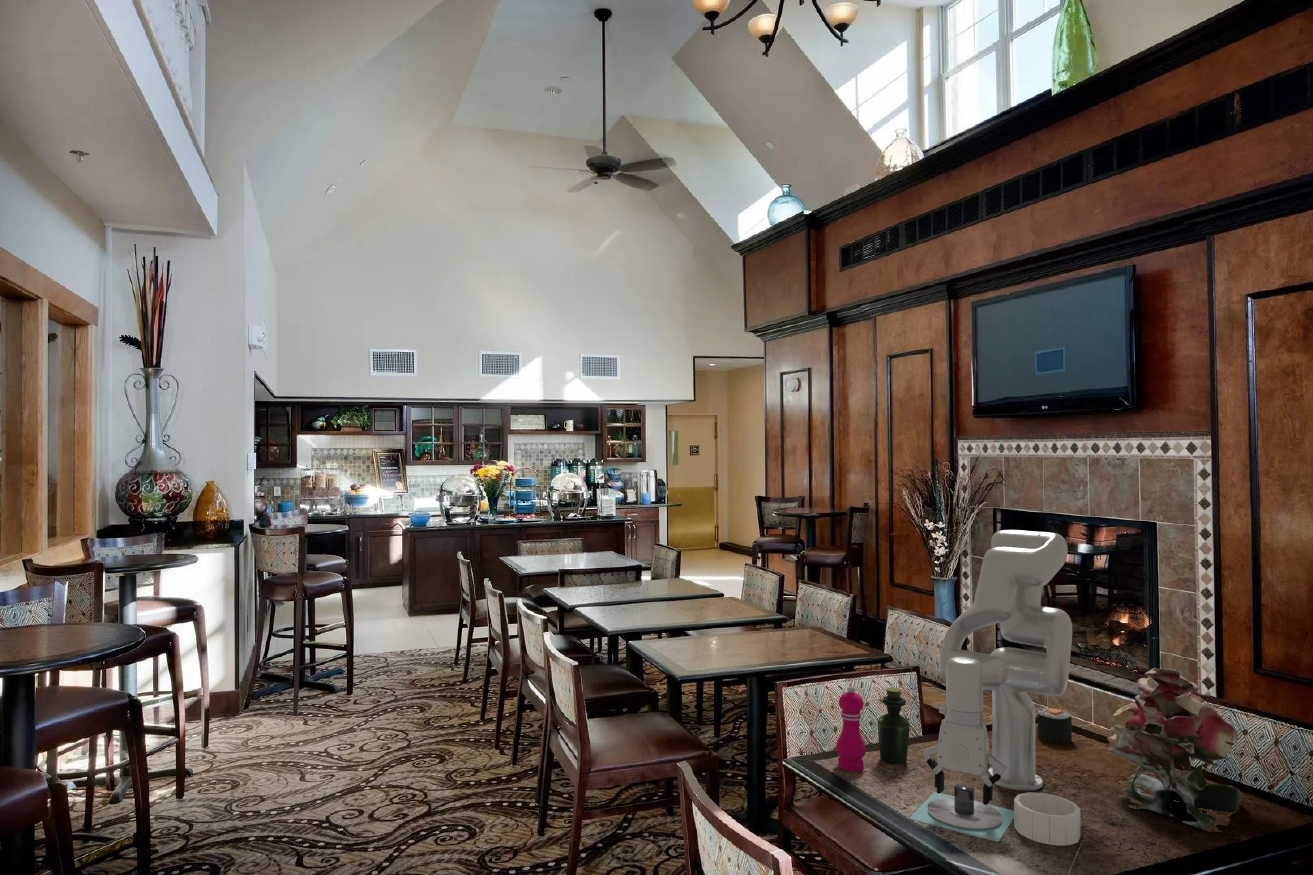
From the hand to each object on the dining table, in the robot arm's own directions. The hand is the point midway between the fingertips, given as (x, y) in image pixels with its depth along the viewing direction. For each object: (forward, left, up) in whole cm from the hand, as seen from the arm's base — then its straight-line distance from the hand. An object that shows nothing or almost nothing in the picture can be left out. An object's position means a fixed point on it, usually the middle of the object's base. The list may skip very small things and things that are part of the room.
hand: (963, 797), depth 179 cm
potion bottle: (-25, -24, -5) cm, 35 cm away
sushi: (-69, +6, -5) cm, 69 cm away
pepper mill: (-14, -31, -5) cm, 34 cm away
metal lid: (-1, 0, -4) cm, 4 cm away
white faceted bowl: (-3, +16, -4) cm, 17 cm away
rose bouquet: (-38, +35, -5) cm, 52 cm away
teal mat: (-1, 0, -4) cm, 4 cm away
